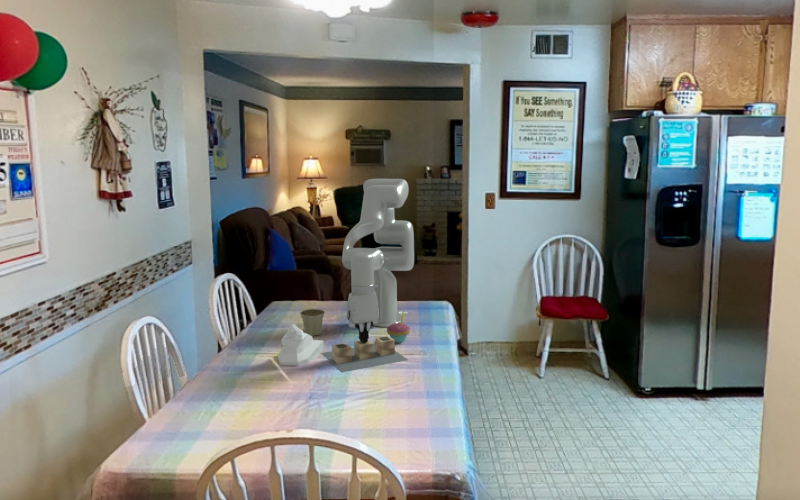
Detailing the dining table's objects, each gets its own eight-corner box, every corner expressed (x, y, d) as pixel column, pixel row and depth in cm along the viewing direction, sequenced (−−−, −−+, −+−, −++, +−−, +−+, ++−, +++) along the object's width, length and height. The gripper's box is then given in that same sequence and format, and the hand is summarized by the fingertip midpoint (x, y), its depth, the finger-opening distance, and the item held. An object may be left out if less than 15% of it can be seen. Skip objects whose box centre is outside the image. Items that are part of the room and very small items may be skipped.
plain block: (367, 353, 203) (367, 339, 202) (373, 357, 199) (373, 343, 198) (354, 355, 201) (354, 341, 200) (360, 360, 196) (359, 345, 196)
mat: (383, 344, 214) (383, 342, 214) (408, 361, 196) (408, 359, 196) (321, 354, 203) (321, 353, 203) (341, 374, 186) (341, 372, 186)
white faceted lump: (314, 372, 191) (306, 335, 186) (272, 373, 195) (262, 337, 189) (325, 351, 203) (317, 315, 197) (285, 351, 206) (276, 317, 200)
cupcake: (410, 338, 220) (410, 307, 218) (408, 345, 212) (408, 314, 210) (388, 337, 221) (387, 307, 219) (385, 345, 213) (384, 313, 211)
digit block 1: (346, 356, 199) (345, 342, 199) (351, 361, 195) (351, 346, 194) (332, 359, 197) (332, 344, 196) (337, 363, 193) (337, 348, 192)
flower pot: (323, 337, 222) (322, 315, 221) (298, 337, 222) (298, 315, 221) (327, 330, 231) (326, 309, 230) (303, 330, 231) (302, 309, 230)
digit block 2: (388, 349, 206) (388, 335, 206) (394, 353, 202) (394, 339, 201) (375, 351, 204) (375, 337, 203) (381, 356, 200) (381, 341, 199)
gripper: (378, 284, 202) (379, 335, 206) (337, 289, 196) (339, 341, 199) (387, 289, 196) (388, 341, 199) (346, 294, 189) (347, 348, 192)
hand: (363, 341), depth 199 cm, fingers closed
